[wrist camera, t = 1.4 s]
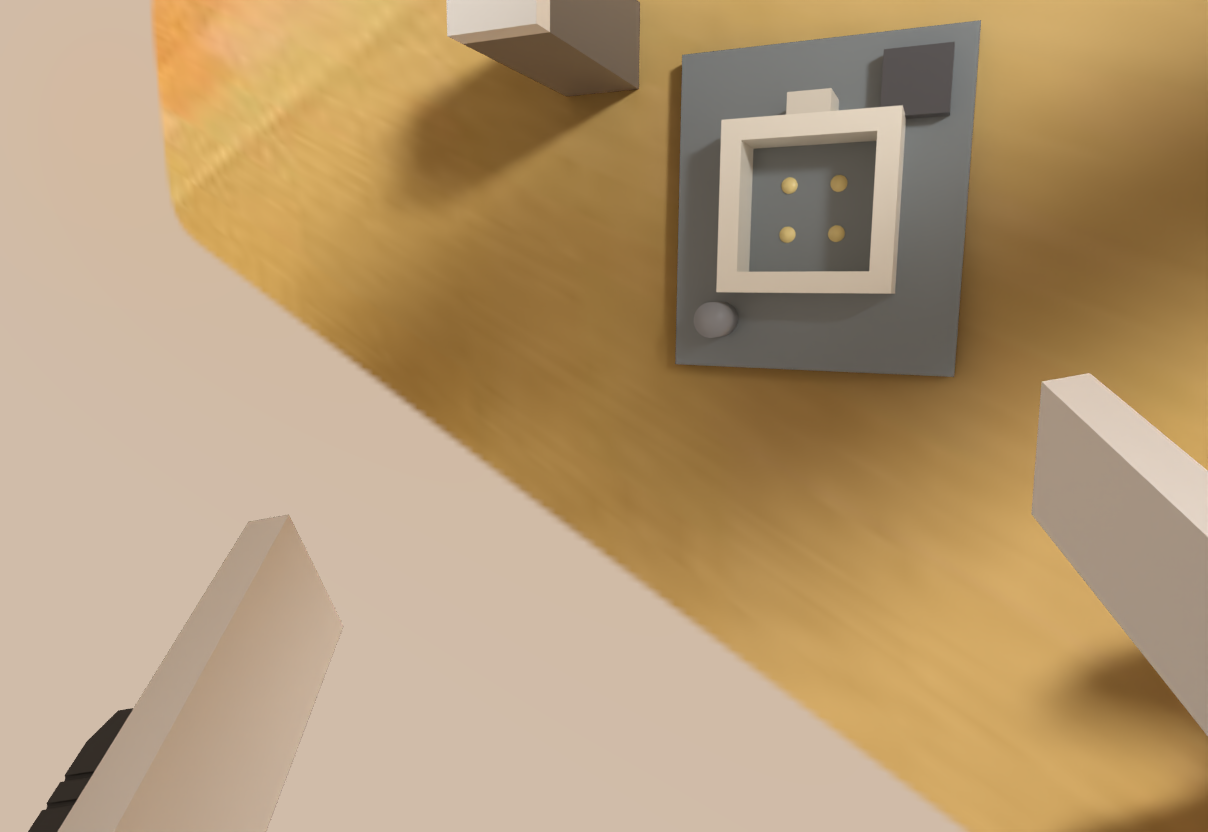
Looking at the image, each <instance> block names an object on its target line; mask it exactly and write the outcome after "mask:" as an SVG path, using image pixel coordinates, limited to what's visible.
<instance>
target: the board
mask: <svg viewBox="0 0 1208 832" xmlns="http://www.w3.org/2000/svg"><path fill="white" fill-rule="evenodd" d="M980 27H981V20H980V21H972V22H963V23H954V24H946V25H937V26H928V27H920V28H911V29H903V30H894V31H885V32H877V33H868V34H859V35H851V36H842V37H833V38H825V39H816V40H807V41H799V42H790V43H781V44H773V45H764V46H756V47H747V48H738V49H730V50H721V51H712V52H704V53H695V54H686V55H682V91H681V136H680V181H679V226H678V272H677V317H676V362H675V364H683V365H705V366H727V367H749V368H771V369H793V370H815V371H837V372H859V373H881V374H902V375H924V376H946V377H954V373H955V360H956V346H957V333H958V320H959V306H960V293H961V280H962V266H963V253H964V240H965V227H966V213H967V200H968V187H969V173H970V160H971V147H972V133H973V120H974V107H975V94H976V80H977V67H978V54H979V40H980Z"/></svg>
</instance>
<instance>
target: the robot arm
mask: <svg viewBox="0 0 1208 832" xmlns="http://www.w3.org/2000/svg"><path fill="white" fill-rule="evenodd" d="M1032 515H1033V517H1034V518H1035V519H1036V520H1037V522H1038V523H1039V524H1040V525H1041V527H1042V528H1043V529H1044V530H1045V532H1046V533H1047V534H1048V535H1049V537H1050V538H1051V539H1052V541H1053V542H1054V543H1055V544H1056V546H1057V547H1058V548H1059V549H1060V551H1061V552H1062V553H1063V554H1064V556H1065V557H1066V558H1067V559H1068V561H1069V562H1070V563H1071V564H1072V566H1073V567H1074V568H1075V570H1076V571H1077V572H1078V573H1079V575H1080V576H1081V577H1082V578H1083V580H1084V581H1085V582H1086V583H1087V585H1088V586H1089V587H1090V588H1091V590H1092V591H1093V592H1094V593H1095V595H1096V596H1097V597H1098V598H1099V600H1100V601H1101V602H1102V604H1103V605H1104V606H1105V607H1106V609H1107V610H1108V611H1109V612H1110V614H1111V615H1112V616H1113V617H1114V619H1115V620H1116V621H1117V622H1118V624H1119V625H1120V626H1121V627H1122V629H1123V630H1124V631H1125V633H1126V634H1127V635H1128V636H1129V638H1130V639H1131V640H1132V641H1133V643H1134V644H1135V645H1136V646H1137V648H1138V649H1139V650H1140V651H1141V653H1142V654H1143V655H1144V656H1145V658H1146V659H1147V660H1148V661H1149V663H1150V664H1151V665H1152V667H1153V668H1154V669H1155V670H1156V672H1157V673H1158V674H1159V675H1160V677H1161V678H1162V679H1163V680H1164V682H1165V683H1166V684H1167V685H1168V687H1169V688H1170V689H1171V690H1172V692H1173V693H1174V694H1175V695H1176V697H1177V698H1178V699H1179V701H1180V702H1181V703H1182V704H1183V706H1184V707H1185V708H1186V709H1187V711H1188V712H1189V713H1190V714H1191V716H1192V717H1193V718H1194V719H1195V721H1196V722H1197V723H1198V724H1199V726H1200V727H1201V728H1202V730H1203V731H1204V732H1205V733H1206V735H1207V736H1208V471H1207V470H1206V469H1205V468H1204V467H1202V466H1201V465H1200V464H1199V463H1198V462H1196V461H1195V460H1194V459H1193V458H1192V457H1190V456H1189V455H1188V454H1187V453H1186V452H1184V451H1183V450H1182V449H1181V448H1180V447H1178V446H1177V445H1176V444H1175V443H1173V442H1172V441H1171V440H1170V439H1169V438H1167V437H1166V436H1165V435H1164V434H1163V433H1161V432H1160V431H1159V430H1158V429H1157V428H1155V427H1154V426H1153V425H1152V424H1151V423H1149V422H1148V421H1147V420H1146V419H1144V418H1143V417H1142V416H1141V415H1140V414H1138V413H1137V412H1136V411H1135V410H1134V409H1132V408H1131V407H1130V406H1129V405H1128V404H1126V403H1125V402H1124V401H1123V400H1122V399H1120V398H1119V397H1118V396H1117V395H1115V394H1114V393H1113V392H1112V391H1111V390H1109V389H1108V388H1107V387H1106V386H1105V385H1103V384H1102V383H1101V382H1100V381H1099V380H1097V379H1096V378H1095V377H1094V376H1093V375H1091V374H1090V373H1087V374H1082V375H1076V376H1070V377H1065V378H1059V379H1053V380H1048V381H1042V384H1041V397H1040V410H1039V423H1038V436H1037V449H1036V462H1035V475H1034V489H1033V502H1032ZM342 629H343V624H342V622H341V620H340V618H339V616H338V614H337V612H336V610H335V608H334V606H333V604H332V602H331V600H330V598H329V595H328V593H327V592H326V589H325V587H324V585H323V583H322V581H321V579H320V577H319V575H318V573H317V571H316V569H315V567H314V565H313V563H312V561H311V559H310V557H309V555H308V553H307V551H306V549H305V547H304V545H303V543H302V540H301V538H300V536H299V534H298V532H297V530H296V528H295V526H294V524H293V522H292V520H291V518H290V516H289V515H284V516H278V517H273V518H267V519H261V520H256V521H250V522H248V524H247V525H246V527H245V528H244V530H243V532H242V533H241V535H240V537H239V538H238V540H237V541H236V543H235V545H234V546H233V548H232V549H231V551H230V553H229V554H228V556H227V558H226V559H225V561H224V562H223V564H222V566H221V567H220V569H219V571H218V572H217V574H216V576H215V577H214V579H213V580H212V582H211V584H210V585H209V587H208V588H207V590H206V592H205V593H204V595H203V597H202V598H201V600H200V601H199V603H198V605H197V606H196V608H195V610H194V611H193V613H192V614H191V616H190V618H189V619H188V621H187V622H186V624H185V626H184V627H183V629H182V631H181V632H180V634H179V636H178V637H177V639H176V640H175V642H174V644H173V645H172V647H171V649H170V650H169V652H168V654H167V655H166V657H165V658H164V660H163V661H162V663H161V665H160V666H159V668H158V670H157V671H156V673H155V674H154V676H153V678H152V679H151V681H150V683H149V684H148V686H147V688H146V689H145V691H144V692H143V694H142V696H141V697H140V699H139V700H138V702H137V704H136V705H135V707H134V708H132V709H126V710H120V711H117V712H116V713H115V714H114V715H113V717H111V718H110V719H109V720H108V721H107V722H106V723H105V724H104V725H103V726H102V727H101V728H100V729H99V730H98V731H97V732H96V733H95V734H94V735H93V736H92V737H91V738H90V739H89V740H88V741H87V742H86V744H85V745H84V747H83V748H82V750H81V751H80V753H79V754H78V756H77V757H76V759H75V760H74V762H73V763H72V765H71V767H70V768H69V770H68V771H67V773H66V774H65V781H64V782H60V783H59V785H58V787H57V788H56V790H55V791H54V793H53V794H52V796H51V797H50V799H49V800H48V802H47V809H46V810H42V811H41V813H40V814H39V816H38V817H37V819H36V820H35V822H34V823H33V825H32V827H31V828H30V830H29V831H28V832H266V831H267V828H268V825H269V822H270V820H271V817H272V815H273V812H274V809H275V807H276V804H277V801H278V799H279V796H280V793H281V791H282V788H283V785H284V783H285V780H286V778H287V775H288V772H289V769H290V767H291V764H292V761H293V759H294V756H295V754H296V751H297V748H298V745H299V743H300V740H301V738H302V735H303V732H304V730H305V727H306V724H307V722H308V719H309V716H310V714H311V711H312V709H313V706H314V703H315V701H316V698H317V695H318V693H319V690H320V687H321V684H322V682H323V679H324V676H325V674H326V671H327V669H328V666H329V663H330V661H331V658H332V655H333V653H334V650H335V647H336V645H337V642H338V639H339V637H340V634H341V631H342Z"/></svg>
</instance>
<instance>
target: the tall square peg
mask: <svg viewBox="0 0 1208 832" xmlns="http://www.w3.org/2000/svg"><path fill="white" fill-rule="evenodd" d="M639 35H640V2H638V1H637V0H447V36H448V37H450V38H452V39H454V40H456V41H458V42H460V43H462V44H464V45H466V46H468V47H470V48H472V49H474V50H476V51H478V52H480V53H482V54H484V55H486V56H488V57H490V58H491V59H493V60H495V61H497V62H499V63H501V64H503V65H505V66H507V67H509V68H511V69H513V70H515V71H517V72H519V73H521V74H523V75H525V76H527V77H529V78H531V79H533V80H535V81H537V82H539V83H541V84H543V85H545V86H547V87H549V88H551V89H553V90H555V91H557V92H559V93H561V94H563V95H565V96H575V95H585V94H595V93H605V92H615V91H625V90H635V89H639Z"/></svg>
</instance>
